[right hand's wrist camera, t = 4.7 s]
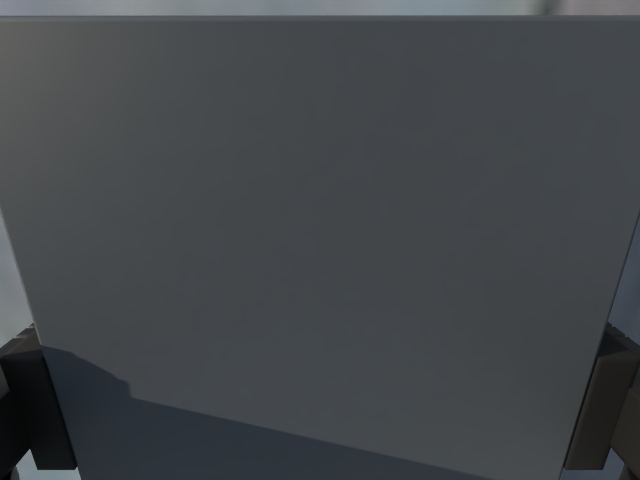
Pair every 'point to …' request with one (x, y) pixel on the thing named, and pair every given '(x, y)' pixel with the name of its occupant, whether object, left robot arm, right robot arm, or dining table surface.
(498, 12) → the dining table surface
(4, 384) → the right robot arm
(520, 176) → the wide beam
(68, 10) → the dining table surface
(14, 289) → the dining table surface
